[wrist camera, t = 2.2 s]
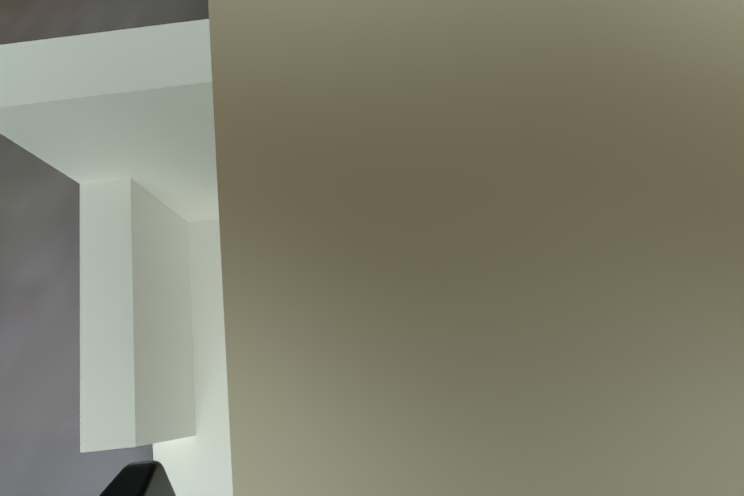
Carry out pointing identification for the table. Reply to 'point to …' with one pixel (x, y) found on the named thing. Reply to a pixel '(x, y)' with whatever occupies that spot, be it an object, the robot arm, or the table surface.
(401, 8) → the maple block
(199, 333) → the white toy sofa
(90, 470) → the table surface
